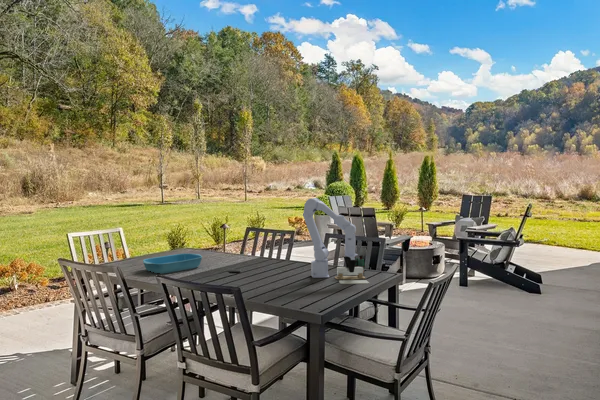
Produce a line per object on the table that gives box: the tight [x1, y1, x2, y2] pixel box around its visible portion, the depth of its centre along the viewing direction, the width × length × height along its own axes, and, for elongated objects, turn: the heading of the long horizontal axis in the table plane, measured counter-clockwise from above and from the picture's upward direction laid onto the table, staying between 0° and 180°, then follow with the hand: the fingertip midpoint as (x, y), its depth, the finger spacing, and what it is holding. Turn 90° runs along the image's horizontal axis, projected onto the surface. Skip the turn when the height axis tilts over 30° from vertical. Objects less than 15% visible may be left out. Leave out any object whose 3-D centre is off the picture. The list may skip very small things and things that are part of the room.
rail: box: [336, 266, 364, 276], centre depth 237 cm, size 14×3×4 cm, turn 95°
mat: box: [338, 279, 370, 285], centre depth 227 cm, size 15×6×1 cm, turn 95°
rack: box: [334, 273, 366, 280], centre depth 237 cm, size 16×5×3 cm, turn 95°
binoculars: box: [355, 254, 366, 274], centre depth 250 cm, size 9×11×10 cm
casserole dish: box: [142, 252, 203, 275], centre depth 262 cm, size 37×22×7 cm, turn 138°
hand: (350, 270), depth 237 cm, fingers open, 7 cm apart
